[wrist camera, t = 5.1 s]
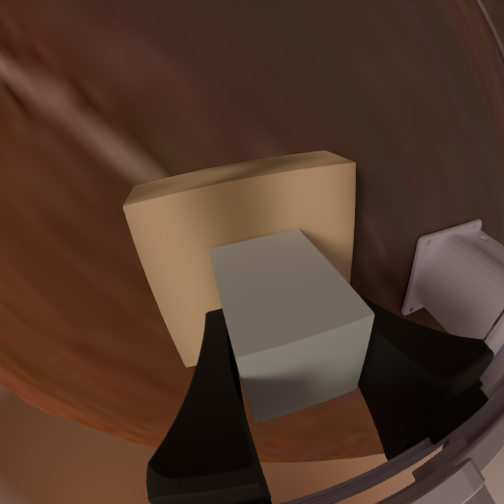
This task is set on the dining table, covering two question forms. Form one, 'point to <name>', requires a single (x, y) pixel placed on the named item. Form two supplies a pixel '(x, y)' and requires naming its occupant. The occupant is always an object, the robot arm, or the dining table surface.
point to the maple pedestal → (234, 226)
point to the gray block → (290, 322)
